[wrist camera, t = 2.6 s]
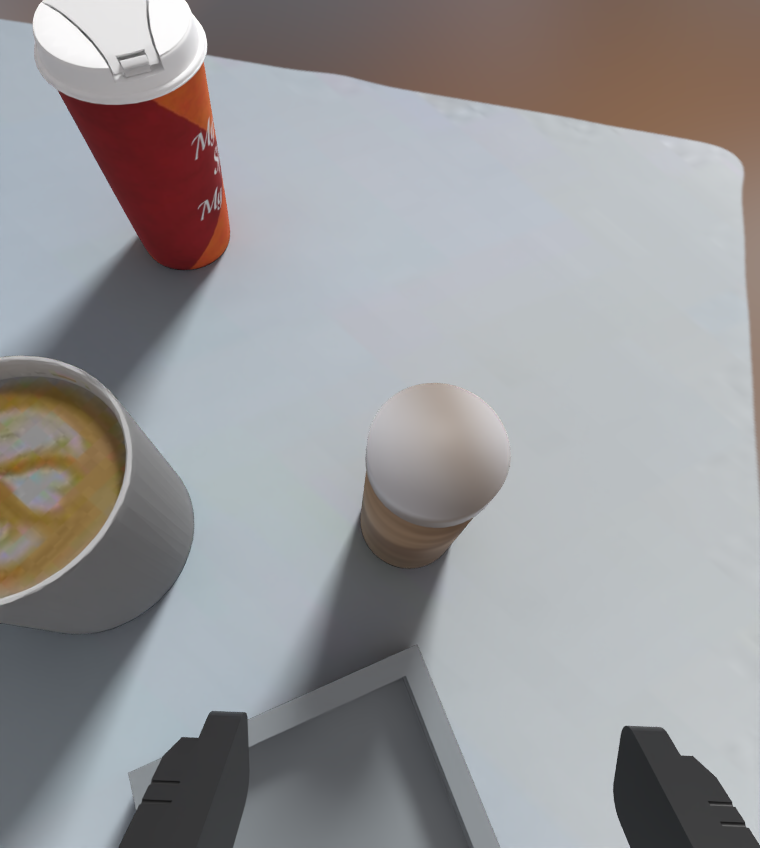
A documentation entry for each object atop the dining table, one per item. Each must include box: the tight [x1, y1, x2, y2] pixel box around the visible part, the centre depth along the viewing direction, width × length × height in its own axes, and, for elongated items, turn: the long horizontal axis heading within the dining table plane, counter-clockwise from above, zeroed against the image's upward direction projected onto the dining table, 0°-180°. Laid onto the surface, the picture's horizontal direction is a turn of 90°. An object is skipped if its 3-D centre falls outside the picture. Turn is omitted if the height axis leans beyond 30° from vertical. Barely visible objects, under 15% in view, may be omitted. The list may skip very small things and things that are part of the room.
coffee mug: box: [0, 356, 194, 634], centre depth 26 cm, size 13×10×10 cm
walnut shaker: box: [360, 383, 511, 569], centre depth 27 cm, size 5×5×11 cm
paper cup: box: [33, 0, 230, 270], centre depth 32 cm, size 8×8×14 cm
